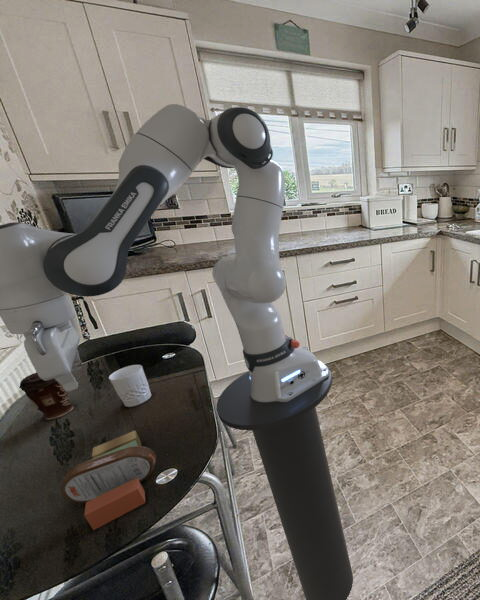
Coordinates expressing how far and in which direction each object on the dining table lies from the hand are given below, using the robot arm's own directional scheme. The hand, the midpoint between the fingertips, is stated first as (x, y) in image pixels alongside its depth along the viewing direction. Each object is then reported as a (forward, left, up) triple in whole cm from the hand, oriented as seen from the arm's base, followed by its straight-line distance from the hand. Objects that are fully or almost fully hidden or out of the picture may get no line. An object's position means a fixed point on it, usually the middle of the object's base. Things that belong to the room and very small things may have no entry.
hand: (75, 378), depth 65 cm
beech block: (+1, -7, -25) cm, 26 cm away
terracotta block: (+1, +12, -25) cm, 27 cm away
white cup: (-3, -32, -25) cm, 41 cm away
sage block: (+1, -2, -25) cm, 25 cm away
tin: (+1, +5, -25) cm, 26 cm away
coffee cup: (+16, -43, -25) cm, 52 cm away
